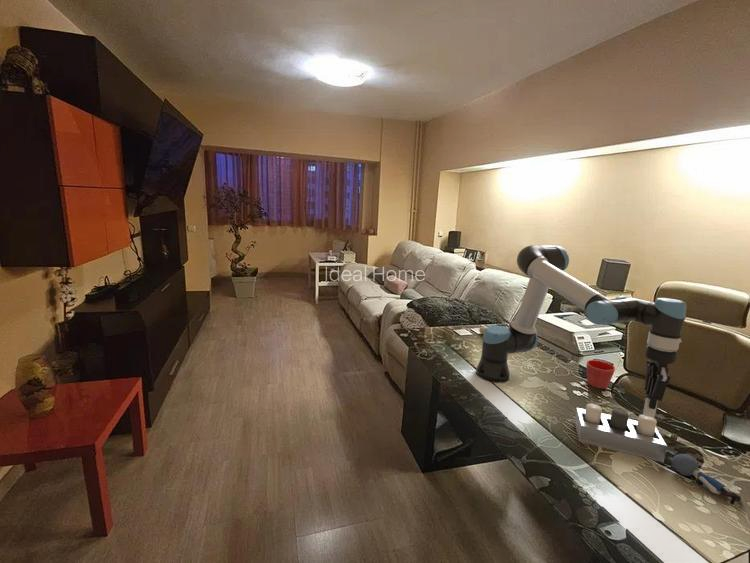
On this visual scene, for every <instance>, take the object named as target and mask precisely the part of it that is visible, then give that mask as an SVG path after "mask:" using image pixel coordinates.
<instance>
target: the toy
mask: <svg viewBox="0 0 750 563" xmlns="http://www.w3.org/2000/svg"><path fill="white" fill-rule="evenodd" d="M667 460H669V461H670V462H671V467H672V469H673V470H674V471H675V472H676V473H678V474H680V476H686V477H688V476H694V477H695V478H694V483H695V484H696V485H699V486H702V485H704V486H706V487H707V489H709V491H710V492H711V493H713V494H715V495H722V496H724V497H726V498H727V497H728V498H731V499H730V501H729V503H730V504H731V505H735V503H736V502H737V501H738V502H740V501H741V500H742V498H741V495H740V496H739V494H737V493H735V492H733V491H728V490H727V489H726V487H727V486H726V485H725V484H723V483H721V482H720V481H719V480H717V479H716V478H714V477H711V476H709V475H708V474H706V473H704V472H702V471H700V470H699V463H698V461H697V460H696V459H695V458H694V457H693V456H691V455H689V454H686V453H677V454H676V455H674V456H673V457H671V456H668V457H667Z"/></svg>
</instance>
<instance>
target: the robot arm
mask: <svg viewBox="0 0 750 563" xmlns="http://www.w3.org/2000/svg"><path fill="white" fill-rule="evenodd" d="M516 263H517V264H516V265H517V266H518V269H519V270H520V271H521V273H523V274H524V275H526V276H527V277H528V278H529V279H528V282H527V286H526V289H525V292H524V294H523V297H522V301H521V303H520V307H519V309H518V312H517V315H516V318H515V319H514V320H512V321H511V322H510V323H509V327H506V326H503V325H491V326H488V327H485V328H486V329H485V331H484V334H482V335H483V336H482V344H481V345H482V348H481V356H480V359H479V362H478V364H477V366H476V370H475V371H476V372H475V373H476V376H477V377H479V378H480V379H482V380H484V381H486V382H491V383H497V384H498V383H502V384H503V383H506V382H508V381H509V380H510V377H511V376H510V375H511V374H510V373H511V372H510V369H509V365H508V356H509V355H511V354H518V353H527V352H529V351H532V350H534V349H535V348H536V347H537V345H538V341H539V338H538V333H537V329H536V326H535V325H536V323H537V320H538V317H539V315H540V312H541V310H542V308H543V305H544V302H545V299H546V296H547V293H548V291H549V289H551V290H553V291H554V292H556V293H557V294H559V295H560V296H562V297H563V298H565V299H566V300H568V301H569V302H570V303H572V304H573V305H575V306H576V307H578V308H579V309H581V310H583V311H584V312H585V316H586V318H587V319H588V321H589V322H591V323H592V324H594V325H598V326H600V325H601V326H608V325H609V326H610V325H614V324H618V323H621V324H622V323H628V322H629V323H630V322H635V323H640V324H644V325H647V326H649V331H648V336H647V342H646V344H647V345H646V348H645V354H644V356H645V357H646V358H647V359H649V360H646V370H645V371H646V372H645V382H644V391H646V392H645V401H644V405H643V406H644V407H643V411H642V415H644V416H648V417H652V418H654V419H656V417H655V416H656V412H657V407H658V402H662V401H663V399H664V395H665V393H666V392H665V391H666V389H667V386H668V384H669V382H670V381H671V376H670V375H669V376H668V375H667V374H668V372H669V367H668V366H669V365H670V364H671V365H672V364H676V362H677V359H678V358H677V357H678V354H679V352H678V351H679V348H680V343H683V340H682V333H683V329H684V325H685V320H686V318H687V316H686V315H687V314H686V313H687V307H688V306H687V303H686V302H685V301H683V300H681V299H680V300H679V299H674V298H670V297H669V298H668V297H657V298H656V299H655V301H654V302H653V301H648V300H643V299H640V298H635V297H633V296H625V295H618V296H616V298H613V299H610V298H608V297H606V296H605V295H603V294H601V293H599V292H598V291H596V290H595V289H593V288H591V287H589V286H588V285H587V284H585V283H583V282H581V281H579V279H576V278H575V277H573V276H571V275H569V274H568V273H567V272H565V270H567V268H568V267H569V263H570V258H569V254H568V252H567V250H566V249H565V248H564V247H562V246H560V245H554V244H545V245H544V244H543V245H541V244H538V245H536V244H535V245H533V244H532V245H527V246H525V247H523V248H522V249H521V250H520V251H519V253H518V255H517V257H516Z"/></svg>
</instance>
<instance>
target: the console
mask: <svg viewBox="0 0 750 563" xmlns="http://www.w3.org/2000/svg"><path fill="white" fill-rule="evenodd" d="M585 411H586V408H585V409H584V408H580V407H576V410H575V417H574V425H575V430H576V433H577V435H576V436H577V439H578V442H580V443H584V444H587V445H591V446H597V447H600V448H603V449H608V450H611V451H614V452H615V451H616V452H620V453H624V454H627V455H630V456H631V455H632V456H636V457H641V458H643V459H646V460H651V461H655V462H659V463H662V464H664V463H665V457H666V453H667V449H668V445H667V443H666V442H665V440H664V438H663V436H662V434H661V433H660V432H659V430H658V428H657V427H656V428H655V433H654V438H652V437H648V436H644V435H639V434H637V433H636V429H637V424H638V420H635V419H630V418H628V422H627V428H626V431H622V430H618V429H614V428H610V427H609V425H610V419H611V414H607V413H603V412H602V414H601V420H600V425H596V424H592V423H588V422H584V417H585Z"/></svg>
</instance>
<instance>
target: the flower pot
mask: <svg viewBox="0 0 750 563" xmlns="http://www.w3.org/2000/svg"><path fill="white" fill-rule="evenodd" d="M615 371H616V368H615V366H614V365H612V364H611V363H608V362H605V361H602V360H599V359H597V360H596V359H592V360H591V359H590V360H587V361H586V377H587V379H586V380H587V383H588V384H589V385H590V386H592V387H594V388H598V389H608V387H609V385H610V382H611V380H612V378H613V376H614V374H615Z"/></svg>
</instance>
